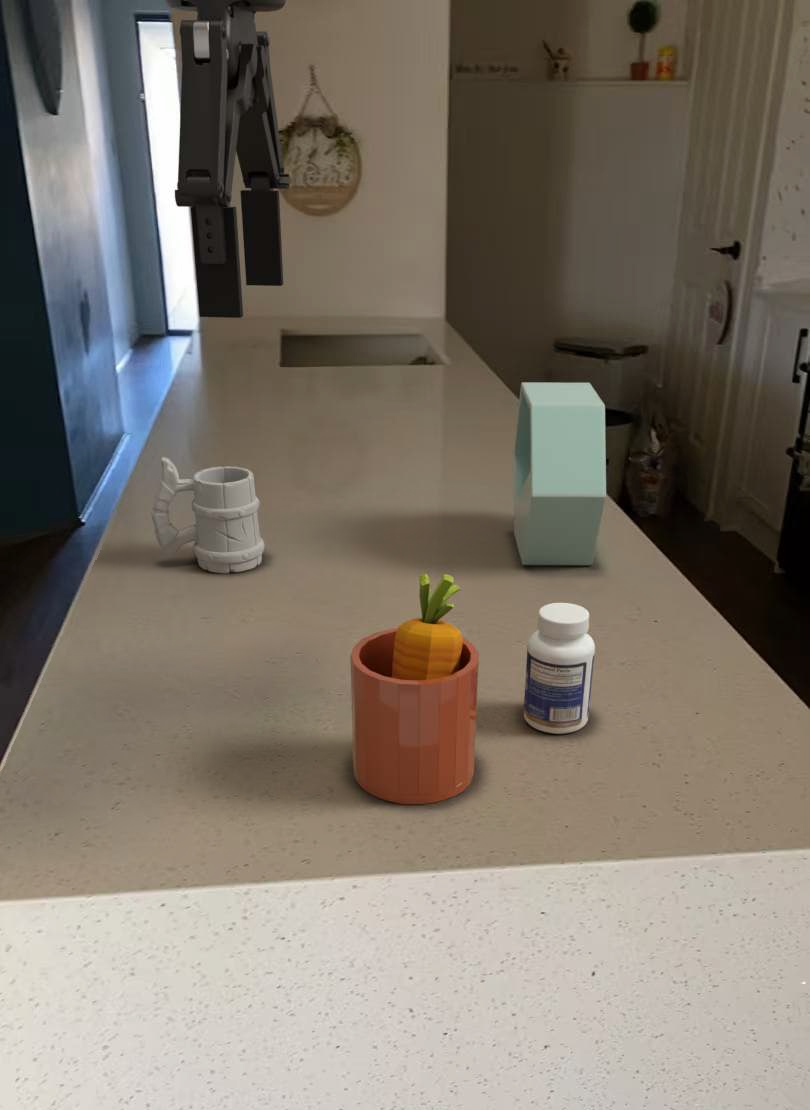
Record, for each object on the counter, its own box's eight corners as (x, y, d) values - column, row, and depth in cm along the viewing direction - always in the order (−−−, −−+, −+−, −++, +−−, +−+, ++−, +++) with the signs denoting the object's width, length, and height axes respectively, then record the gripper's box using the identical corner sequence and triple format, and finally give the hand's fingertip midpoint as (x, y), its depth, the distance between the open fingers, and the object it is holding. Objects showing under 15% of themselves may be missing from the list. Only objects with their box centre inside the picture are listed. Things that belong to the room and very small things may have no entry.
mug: (267, 572, 118) (261, 463, 112) (156, 579, 116) (144, 469, 111) (262, 546, 125) (256, 443, 119) (157, 553, 123) (145, 448, 117)
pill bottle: (542, 697, 94) (550, 593, 89) (599, 715, 91) (609, 609, 86) (510, 723, 90) (516, 615, 85) (568, 742, 87) (578, 632, 83)
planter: (514, 579, 128) (512, 408, 130) (580, 579, 128) (577, 408, 130) (532, 549, 112) (529, 352, 113) (607, 548, 112) (604, 352, 113)
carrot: (379, 755, 84) (402, 563, 81) (443, 762, 84) (469, 570, 81) (379, 776, 79) (403, 572, 76) (447, 783, 80) (474, 580, 76)
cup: (345, 801, 80) (342, 680, 75) (362, 736, 88) (360, 624, 83) (471, 808, 79) (476, 687, 74) (476, 742, 87) (480, 629, 82)
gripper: (234, -99, 55) (259, 334, 66) (316, -44, 77) (325, 275, 87) (91, -98, 56) (138, 331, 66) (212, -43, 78) (233, 273, 88)
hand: (244, 300), depth 77 cm, fingers open, 13 cm apart
